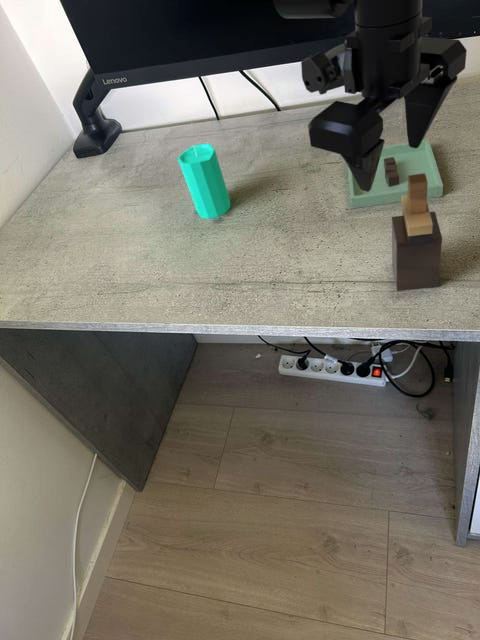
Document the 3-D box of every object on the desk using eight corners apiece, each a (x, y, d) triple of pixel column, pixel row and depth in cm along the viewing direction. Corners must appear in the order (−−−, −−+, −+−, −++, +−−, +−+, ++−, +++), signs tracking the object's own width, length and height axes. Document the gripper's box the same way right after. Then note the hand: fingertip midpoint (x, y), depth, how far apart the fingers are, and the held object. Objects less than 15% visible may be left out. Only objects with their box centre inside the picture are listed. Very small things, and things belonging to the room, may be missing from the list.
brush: (401, 212, 60) (401, 165, 55) (423, 209, 59) (426, 161, 54) (407, 244, 56) (408, 196, 51) (431, 242, 55) (435, 193, 50)
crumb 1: (393, 165, 79) (393, 156, 78) (395, 170, 78) (395, 161, 77) (383, 167, 80) (383, 158, 79) (385, 172, 79) (385, 163, 78)
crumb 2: (397, 172, 78) (397, 164, 77) (395, 178, 77) (395, 170, 76) (386, 173, 79) (386, 164, 77) (385, 178, 78) (384, 170, 76)
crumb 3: (396, 179, 77) (396, 170, 76) (399, 184, 76) (399, 175, 75) (386, 181, 77) (385, 172, 76) (388, 187, 76) (388, 178, 75)
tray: (428, 149, 81) (428, 138, 79) (442, 196, 72) (443, 185, 71) (346, 162, 84) (346, 152, 83) (351, 208, 75) (350, 198, 74)
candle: (201, 223, 82) (178, 160, 74) (194, 204, 86) (172, 142, 78) (234, 211, 82) (215, 146, 74) (226, 193, 86) (207, 130, 78)
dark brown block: (431, 260, 64) (435, 211, 59) (438, 287, 61) (442, 237, 55) (392, 264, 66) (391, 216, 60) (396, 291, 62) (396, 243, 56)
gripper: (374, -26, 52) (379, 115, 63) (253, 53, 45) (282, 194, 56) (476, -27, 45) (461, 131, 56) (351, 65, 38) (362, 223, 50)
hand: (390, 168), depth 55 cm, fingers open, 9 cm apart
